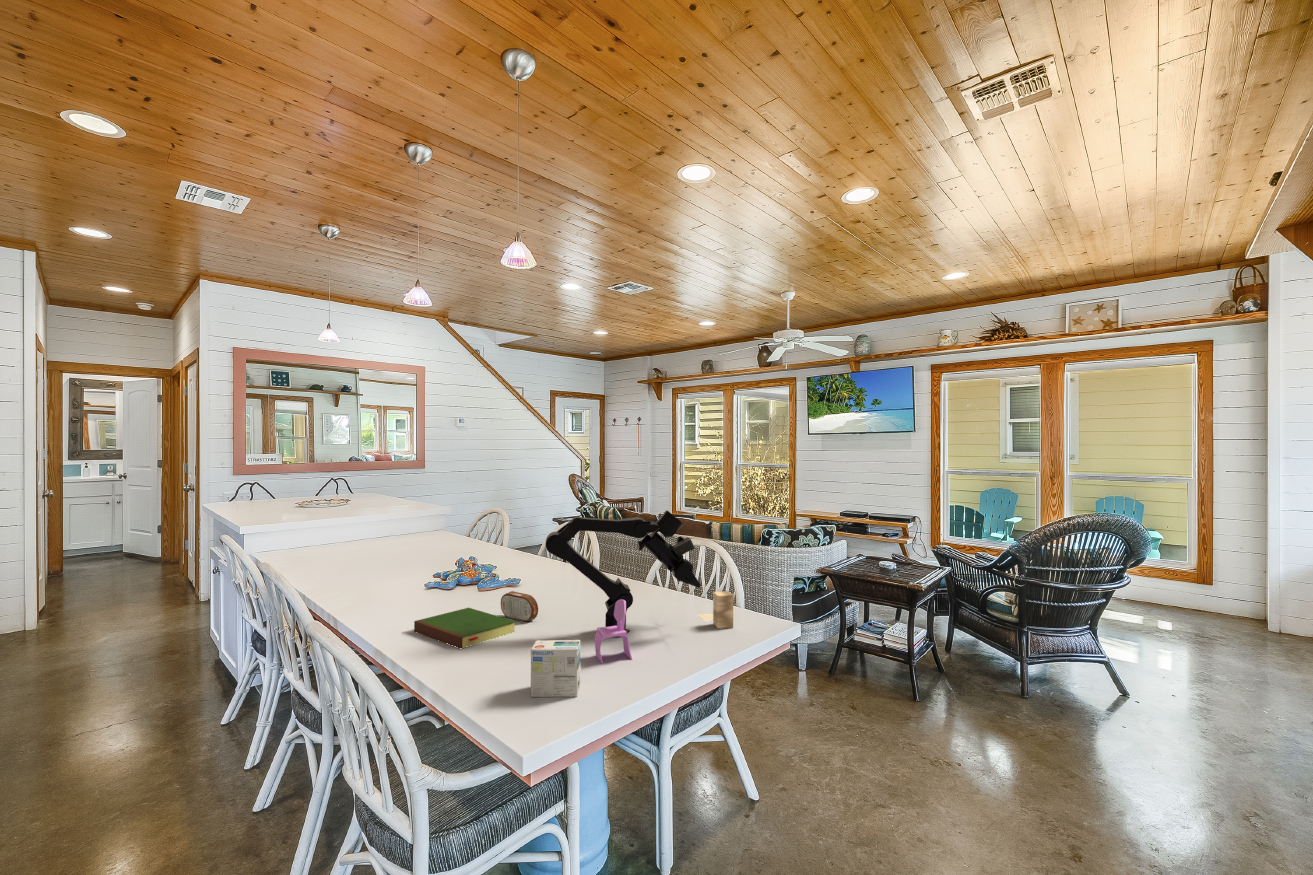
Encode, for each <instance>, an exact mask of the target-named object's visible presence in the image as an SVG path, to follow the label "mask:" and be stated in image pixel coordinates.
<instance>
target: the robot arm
mask: <svg viewBox="0 0 1313 875" xmlns="http://www.w3.org/2000/svg"><path fill="white" fill-rule="evenodd" d="M683 526H684V524H683V522H682V521H681V520H680V519H679V518H678V517H677V516H675V515H674V514H672V513H671V512H670V510H667V509H666V510H665V511H664V512H663V514H662V515H661V516H660V517H659V518H658V520H657V521H656V522H655V521H652V520H651V521H646V520H645V519H643V518H642V517H640V516H636V517H635V516H634V517H633V516H632V517H626V518H619V519H613V518H611V519H610V518H609V519H608V518H596V517H595V518H594V517H582V516H579V515H578V516H574V517H573V518H572V519H570V521H568V522H567V523H566V524H564V525H563V526H562V527H561V528H559V529H558V530H556V531H552V532H550V533H549V534H548V535H547V536H546V537H545V548H546V551H547V552H548V553H549V554H551V555H553V556H555V557H557V558H559V559H561V560H563V561H565V562H567V563H568V564H570V565H571V566H573V567H574V568H575V569H576V570H577V571H578V572H580V573H581V574H583V575H584V576H585V578H587V579H588V580H590V581H591V582H593V584H594V585H595V586H597V587H598V588H599V589H601V590H602V591H603V592H604V593H605V595H606V596H607V598H608V599H607V600H606V601H605V602H604V605H605V607H606V610H607V611H606V612H605V626H604V627H611V626H617V620H616V619H615V617H614V610H615V603H616V602H617V601H618V600H620V599H622V600H625V601H626V613H627V612H628V609H629V608H630V607H631V606H632V605H633V604H634V603H633V602H634V596H633V595H632V592H631V589H630V586H629V585H628V584H625V583H624V582H623V581H622V580H621V579H620V577H617V579H616V580H613V579H612V578H610V577H608V575H606V574H605V573H604V572H602V571H601V570H600V569H598V568H597V567H596V566H595V565H594V564H592V563H591V562H590V561H589V560H588V559H587V558H585V557H584V556H583V555H582V554H580V553H579V552H578V551H577V550H576V549H575V548H574V547H573V545H572V544H571V543H570V541H571V540H572V539H574V537H575V536H576V535H577V534H579V532H580V531H582V532H583V531H584V532H600V533H614V534H621V535H624V536H628V537H632V538H636V539H637V541H636V542H637V549H638V551H642V550H643V549H644V548H646V550H648V551H649V552H650V554H652V556H654V557H655V558H656V559H657V560H658V561H659V562H660V563H661V564H662V565H663V566H664V568H666V569H667V570H668V571H669V572H670V573H671V575H672V576H673V577H674V578H675V579H676V580H677V581H678V582H680V583H681V582H682V583H685V584H687V585H689V586H692V587H695V588H698V589H699V588H700V587H701V586H702V584H701V583H700V582H699V580H698V579H697V577H696V575H695V574H694V570H693V569H694V564H693V563H691V561H689V560H688V559H687V558H684V555H685V554H686V553H688V552H690V551H694V550H695V549H696V547H695V545H694V543H693V541H692V538H690V537H685V538H684V537H683V536H681V535H680V536H677V537H676V542H675V543H674V544H671V543H669V542H667V541H666V540H665V538H666V539H667V538H672V537H674V535H676V533H678V531H679V530H680V529H681V528H682V527H683ZM659 533H660V534H661V535H662V536H663V537H662V536H661V535H660V534H659ZM638 539H640V540H638ZM624 630H625V631H626V632H627V634H628V633H630V632H631V630H630V629H629V628H628V629H627V614H626V615H625V622H624ZM620 637H621V636H616V638H620Z"/></svg>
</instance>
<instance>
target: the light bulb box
mask: <svg viewBox="0 0 1313 875" xmlns="http://www.w3.org/2000/svg"><path fill="white" fill-rule="evenodd" d="M580 688H581V639H563V640H562V639H558V640H556V639H555V640H539V639H538V640H535V642H534V644H533V646H532V648H531V650H530V698H550V697H551V698H556V697H557V698H558V697H559V698H561V697H564V698H566V697H567V698H568V697H571V698H572V697H578V695H579V691H580Z"/></svg>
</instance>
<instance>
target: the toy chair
mask: <svg viewBox="0 0 1313 875" xmlns="http://www.w3.org/2000/svg"><path fill="white" fill-rule="evenodd" d="M625 615H626V616H627V612H626V601H625V600H622V599H620V600H618V601H617V602H616V603H615V610H614V617H615V619H616V620H617V626H611V627H605V626H601V627H596V632H595V634H594V648H595V650H594V651H595V656H596V658H597V659H598V660H599V662H600V663H601V664H602V665H603V664H604V662H603V658H602V654H601V652H602V651H601V647H602V643H603V641H604V640H605V639H606V640H607V639H609V638H615V637H616V636H620V637H621V639H622V642H623V643H622V644H623V652H624V654H625V655H626V656H627V657H628V658H629V659H630V660H631V661H632V660H633V657H632V654H631V649H630V645H629V642H630V641H629V640H630V639H629V636H628V635H627V634H628V633H627V632H626V631H625V630H624V622H625ZM616 638H617V637H616Z"/></svg>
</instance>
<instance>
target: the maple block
mask: <svg viewBox="0 0 1313 875" xmlns="http://www.w3.org/2000/svg"><path fill="white" fill-rule="evenodd" d="M712 594H713V595H712V598H713V599H712V600H713V601H712V602H713V603H712V605H713V607H712V610H713V611H712V613H713V620H712V622H713V623H712V624H713V626H715V628H716V629H719V630H721V629H734V594H732V592H730V591H713V593H712Z"/></svg>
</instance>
